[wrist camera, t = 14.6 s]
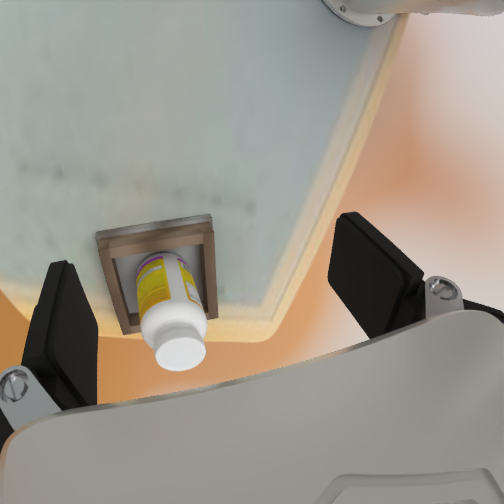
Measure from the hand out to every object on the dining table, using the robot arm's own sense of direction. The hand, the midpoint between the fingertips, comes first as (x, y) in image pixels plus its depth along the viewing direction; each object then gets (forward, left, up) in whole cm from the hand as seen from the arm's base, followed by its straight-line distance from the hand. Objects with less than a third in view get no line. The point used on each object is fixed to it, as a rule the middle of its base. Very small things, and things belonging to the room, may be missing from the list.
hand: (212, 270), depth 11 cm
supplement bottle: (+1, +16, -23) cm, 29 cm away
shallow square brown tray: (+2, +16, -24) cm, 29 cm away
